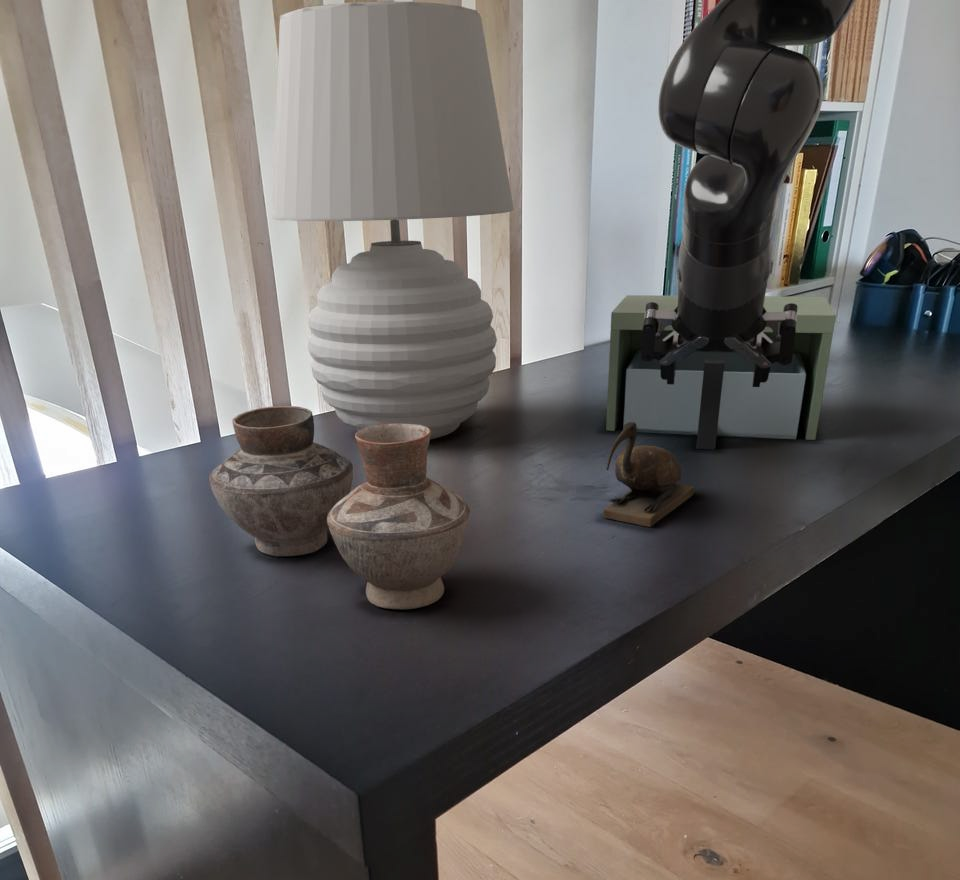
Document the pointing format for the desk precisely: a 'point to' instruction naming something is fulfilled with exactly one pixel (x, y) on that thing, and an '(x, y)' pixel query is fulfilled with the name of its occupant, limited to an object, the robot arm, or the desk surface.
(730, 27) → the robot arm
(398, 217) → the table lamp
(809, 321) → the cabinet
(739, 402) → the bin
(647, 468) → the figurine
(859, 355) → the desk surface
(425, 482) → the pottery
